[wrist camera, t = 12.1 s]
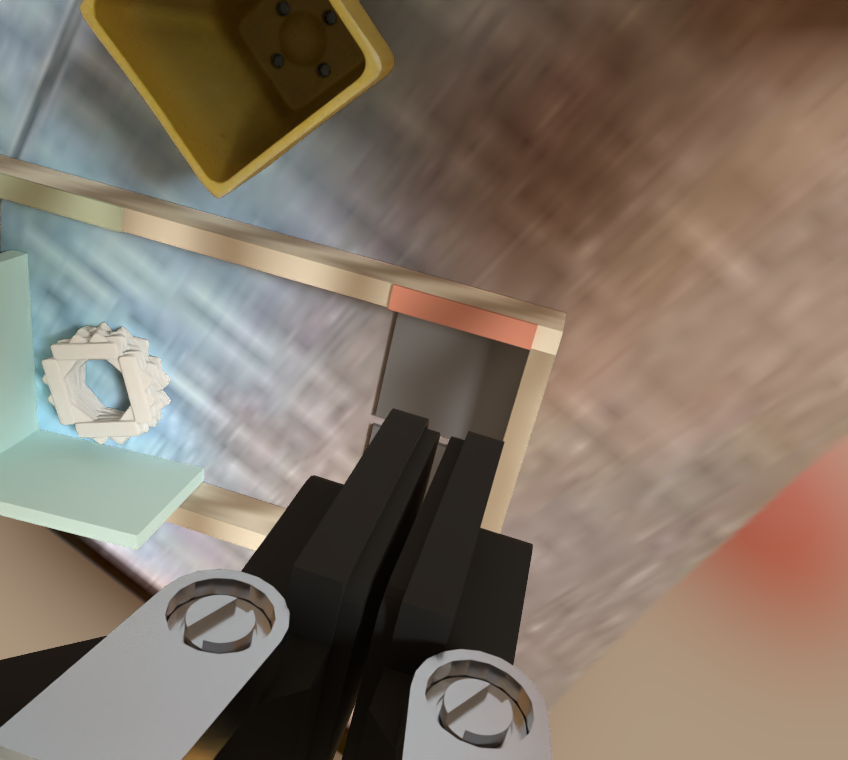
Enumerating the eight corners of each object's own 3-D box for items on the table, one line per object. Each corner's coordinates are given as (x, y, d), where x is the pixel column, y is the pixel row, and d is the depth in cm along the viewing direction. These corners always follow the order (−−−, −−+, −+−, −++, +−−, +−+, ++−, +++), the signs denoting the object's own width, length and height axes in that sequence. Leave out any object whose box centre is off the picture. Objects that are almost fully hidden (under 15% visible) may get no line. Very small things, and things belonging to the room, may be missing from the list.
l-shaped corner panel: (204, 480, 48) (137, 549, 41) (24, 437, 50) (-69, 497, 43) (209, 289, 43) (135, 332, 37) (10, 249, 45) (-96, 283, 38)
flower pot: (435, 68, 37) (386, 71, 29) (293, 174, 40) (213, 203, 32) (325, -110, 35) (239, -160, 27) (186, 16, 38) (72, 4, 30)
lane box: (566, 312, 40) (561, 345, 35) (480, 588, 47) (466, 645, 42) (-20, 148, 43) (-93, 159, 39) (-18, 428, 50) (-80, 465, 46)
